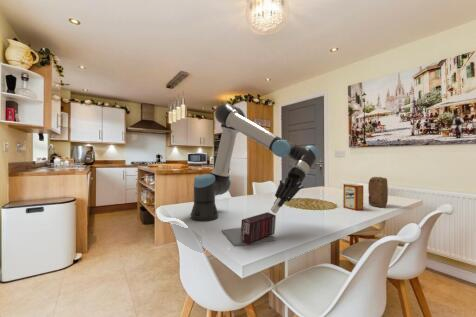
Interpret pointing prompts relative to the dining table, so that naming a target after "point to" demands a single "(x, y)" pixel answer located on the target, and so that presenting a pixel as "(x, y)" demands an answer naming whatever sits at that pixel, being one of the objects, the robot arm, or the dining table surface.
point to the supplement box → (257, 227)
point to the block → (378, 191)
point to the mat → (235, 237)
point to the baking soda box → (353, 197)
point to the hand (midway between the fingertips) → (273, 211)
